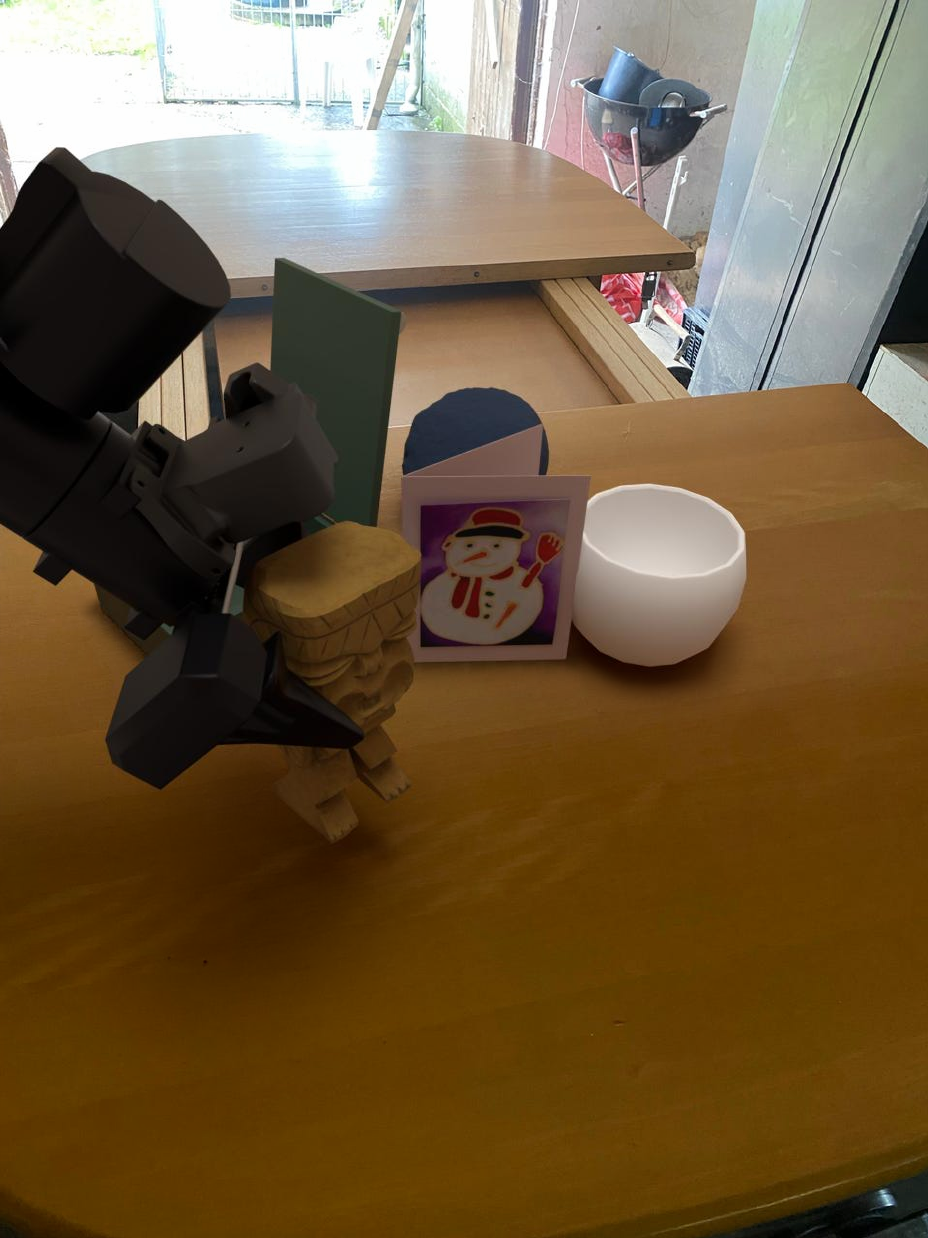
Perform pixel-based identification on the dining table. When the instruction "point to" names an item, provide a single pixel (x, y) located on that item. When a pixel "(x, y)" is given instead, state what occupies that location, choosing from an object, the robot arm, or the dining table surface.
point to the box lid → (340, 375)
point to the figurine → (341, 655)
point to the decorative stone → (468, 426)
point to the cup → (657, 573)
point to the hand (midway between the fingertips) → (360, 680)
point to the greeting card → (494, 553)
